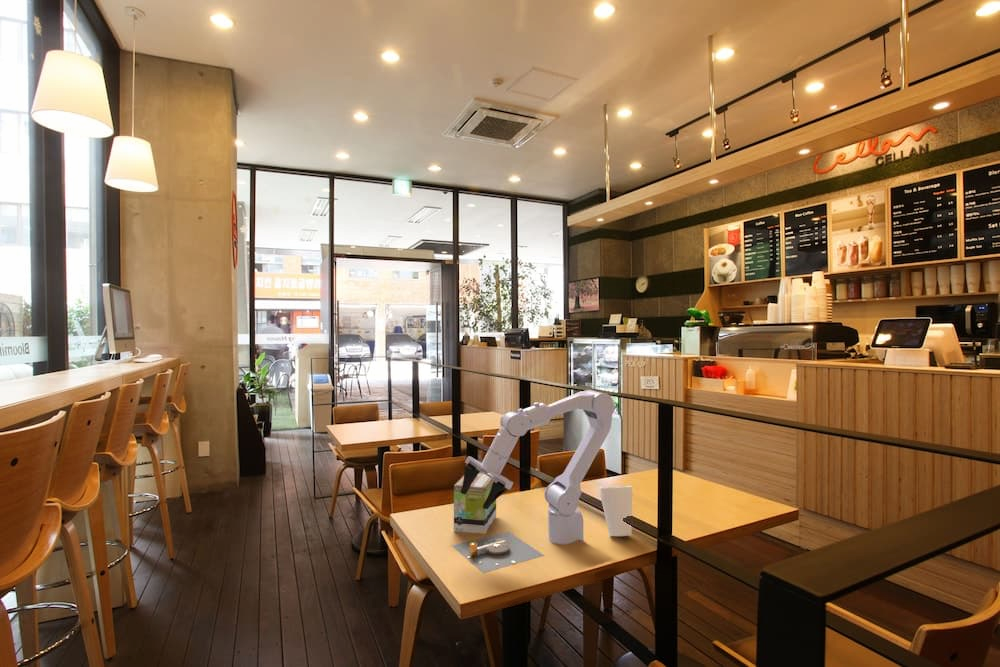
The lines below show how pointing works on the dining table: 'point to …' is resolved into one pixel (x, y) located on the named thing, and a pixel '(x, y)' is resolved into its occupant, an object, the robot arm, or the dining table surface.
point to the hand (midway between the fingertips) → (473, 500)
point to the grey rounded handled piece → (490, 547)
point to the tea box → (473, 506)
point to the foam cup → (617, 508)
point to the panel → (492, 562)
